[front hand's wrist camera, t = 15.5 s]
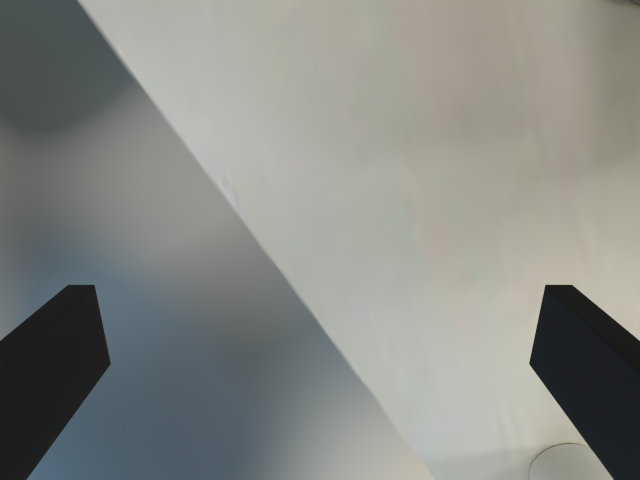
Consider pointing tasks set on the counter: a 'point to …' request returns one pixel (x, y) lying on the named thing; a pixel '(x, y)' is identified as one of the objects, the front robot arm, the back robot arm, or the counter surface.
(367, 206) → the counter surface
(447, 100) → the counter surface
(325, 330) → the counter surface
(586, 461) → the can
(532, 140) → the counter surface
